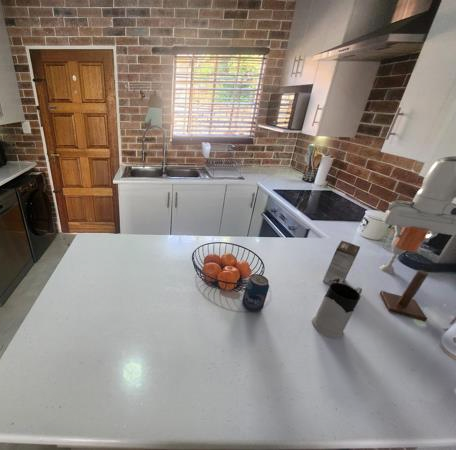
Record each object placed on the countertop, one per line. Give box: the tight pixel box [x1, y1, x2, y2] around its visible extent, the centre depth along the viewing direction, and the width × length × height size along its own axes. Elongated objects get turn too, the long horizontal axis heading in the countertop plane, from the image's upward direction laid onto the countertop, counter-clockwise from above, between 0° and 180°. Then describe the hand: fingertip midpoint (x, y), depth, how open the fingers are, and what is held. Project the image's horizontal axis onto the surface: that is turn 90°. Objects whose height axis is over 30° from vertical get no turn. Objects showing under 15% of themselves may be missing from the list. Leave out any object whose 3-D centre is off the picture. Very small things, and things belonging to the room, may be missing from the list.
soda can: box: [241, 273, 270, 314], centre depth 84 cm, size 7×7×12 cm
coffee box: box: [322, 240, 361, 286], centre depth 98 cm, size 9×6×16 cm
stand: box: [379, 269, 429, 322], centre depth 86 cm, size 10×10×16 cm
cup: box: [394, 227, 430, 253], centre depth 91 cm, size 6×6×9 cm
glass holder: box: [311, 283, 363, 339], centre depth 78 cm, size 9×14×15 cm, turn 113°
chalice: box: [379, 229, 407, 275], centre depth 105 cm, size 7×7×18 cm
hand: (410, 239), depth 92 cm, fingers closed on cup, 6 cm apart
